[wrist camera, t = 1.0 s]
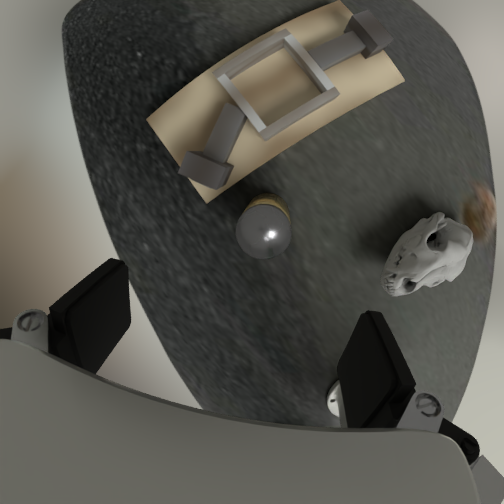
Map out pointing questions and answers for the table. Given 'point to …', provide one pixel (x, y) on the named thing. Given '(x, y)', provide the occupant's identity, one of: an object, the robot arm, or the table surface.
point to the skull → (427, 255)
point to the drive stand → (274, 94)
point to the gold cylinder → (264, 227)
